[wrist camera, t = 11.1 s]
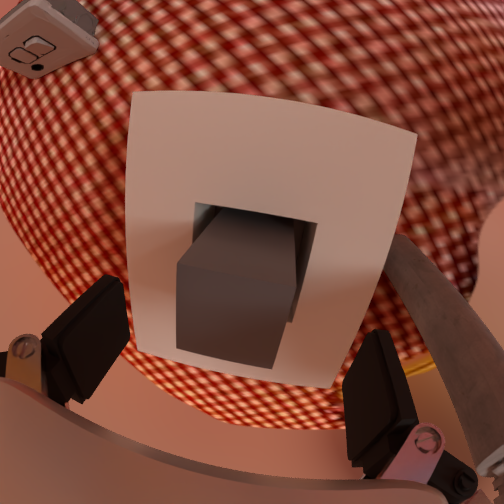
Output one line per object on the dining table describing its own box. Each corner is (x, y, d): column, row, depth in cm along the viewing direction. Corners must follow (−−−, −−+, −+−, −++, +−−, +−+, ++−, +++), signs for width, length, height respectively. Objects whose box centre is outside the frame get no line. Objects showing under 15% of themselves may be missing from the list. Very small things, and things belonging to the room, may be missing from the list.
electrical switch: (36, 81, 17) (-32, 73, 8) (44, 40, 15) (-17, 23, 7) (102, 52, 16) (27, 22, 7) (111, 8, 14) (49, -31, 6)
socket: (381, 133, 17) (417, 134, 11) (323, 338, 24) (329, 388, 19) (174, 101, 18) (132, 91, 12) (164, 308, 25) (137, 350, 19)
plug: (292, 212, 19) (296, 287, 10) (280, 268, 21) (272, 369, 12) (229, 200, 19) (176, 262, 10) (222, 257, 21) (176, 348, 12)
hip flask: (475, 320, 22) (555, 466, 3) (449, 345, 23) (512, 499, 5) (396, 226, 19) (563, 465, 1) (362, 263, 21) (453, 535, 3)
